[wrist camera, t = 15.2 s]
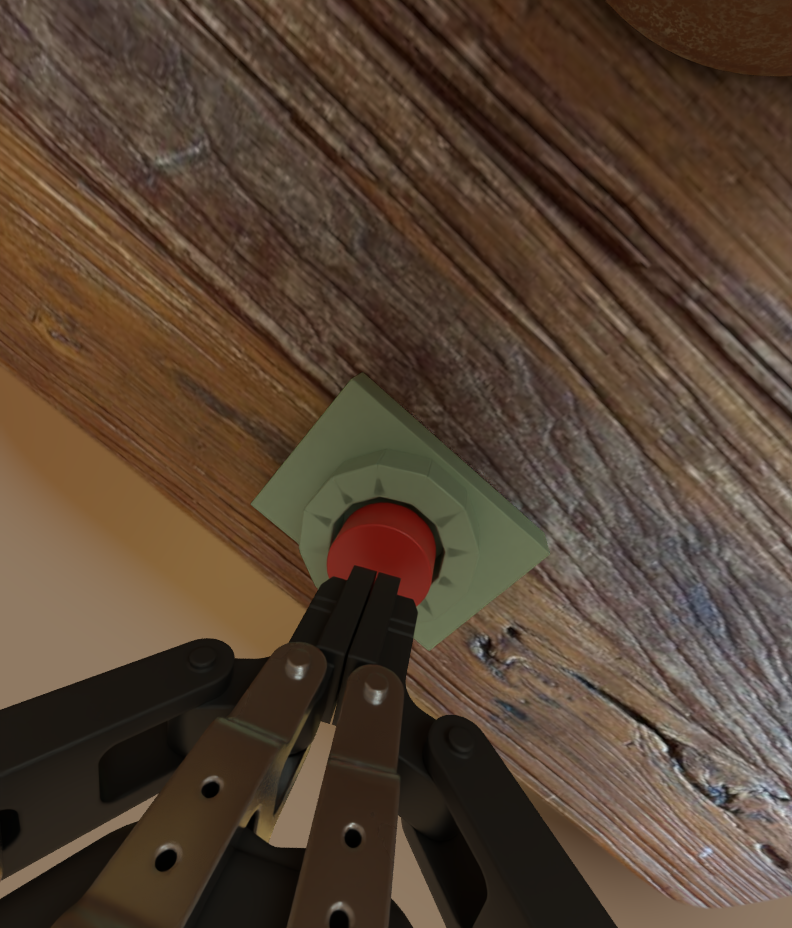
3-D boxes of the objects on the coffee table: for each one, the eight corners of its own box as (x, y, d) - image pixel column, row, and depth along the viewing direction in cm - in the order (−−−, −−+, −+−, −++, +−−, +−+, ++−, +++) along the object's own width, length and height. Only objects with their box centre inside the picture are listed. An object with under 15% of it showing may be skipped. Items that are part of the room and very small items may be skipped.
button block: (267, 489, 20) (227, 524, 17) (362, 371, 18) (337, 387, 14) (432, 625, 21) (424, 683, 18) (544, 533, 19) (558, 581, 15)
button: (321, 545, 17) (305, 570, 15) (381, 482, 16) (370, 502, 14) (393, 604, 17) (384, 635, 16) (457, 547, 16) (454, 574, 14)
